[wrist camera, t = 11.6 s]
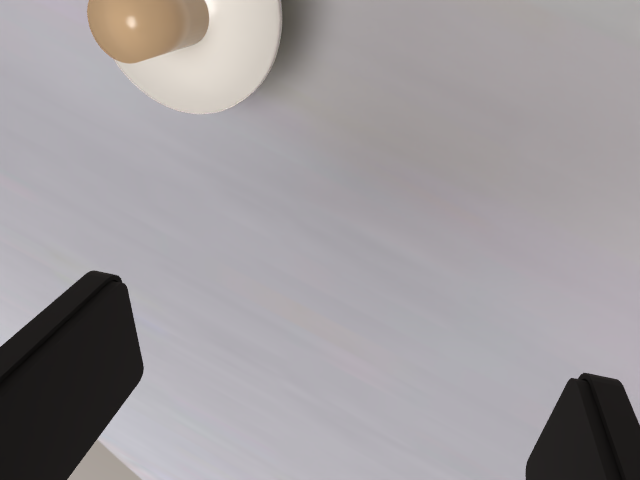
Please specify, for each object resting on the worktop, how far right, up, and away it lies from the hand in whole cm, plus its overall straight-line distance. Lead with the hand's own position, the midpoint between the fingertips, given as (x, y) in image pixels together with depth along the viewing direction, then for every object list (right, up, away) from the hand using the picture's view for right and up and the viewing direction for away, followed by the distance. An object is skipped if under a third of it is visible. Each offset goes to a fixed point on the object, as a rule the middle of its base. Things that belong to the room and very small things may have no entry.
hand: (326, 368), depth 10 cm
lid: (-8, +17, +18) cm, 26 cm away
